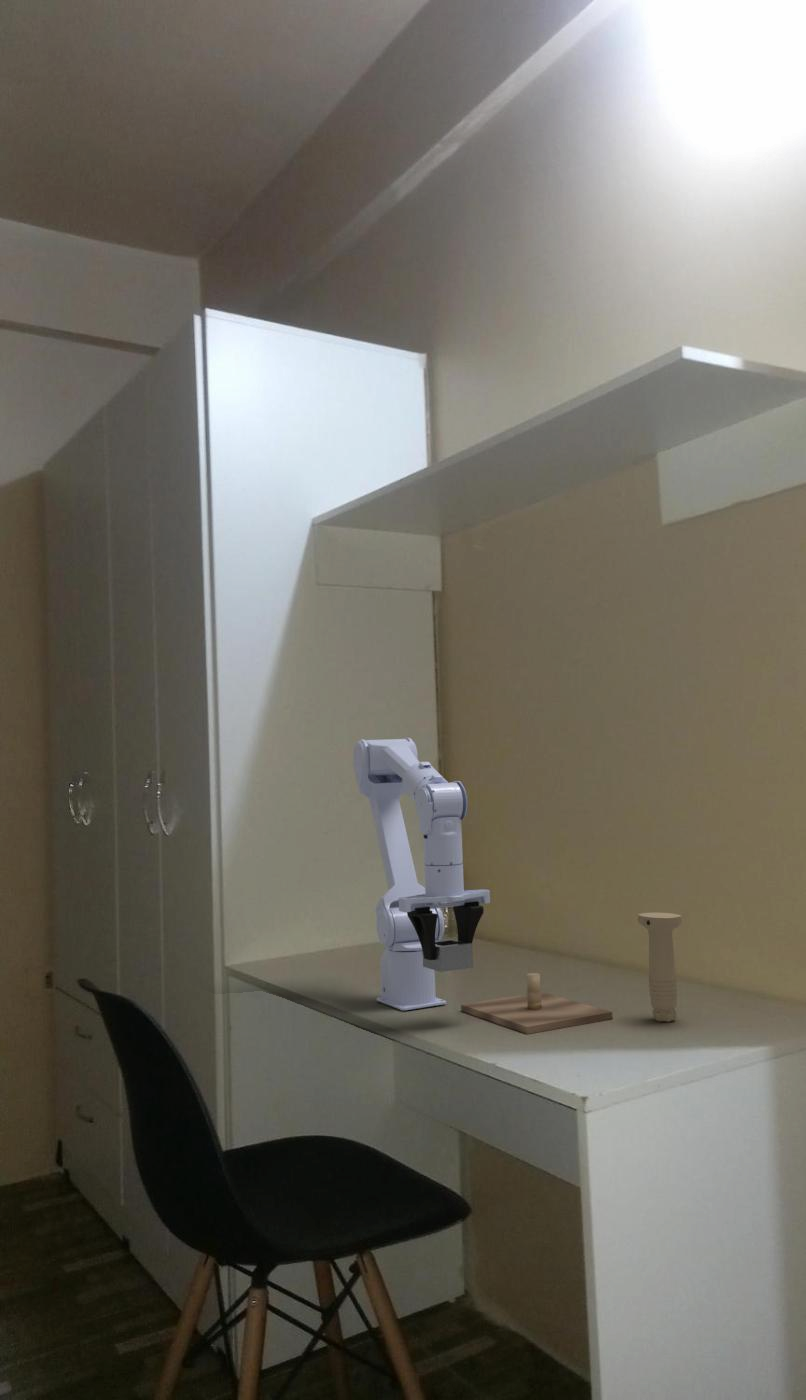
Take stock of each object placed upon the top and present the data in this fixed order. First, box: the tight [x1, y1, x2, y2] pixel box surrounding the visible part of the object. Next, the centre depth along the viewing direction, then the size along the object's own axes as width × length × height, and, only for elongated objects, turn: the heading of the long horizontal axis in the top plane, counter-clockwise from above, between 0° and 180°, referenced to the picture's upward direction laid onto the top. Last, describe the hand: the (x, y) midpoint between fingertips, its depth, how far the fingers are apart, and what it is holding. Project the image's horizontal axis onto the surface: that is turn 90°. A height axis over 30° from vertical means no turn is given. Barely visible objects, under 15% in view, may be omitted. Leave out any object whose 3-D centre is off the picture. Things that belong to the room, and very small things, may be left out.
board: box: [460, 972, 613, 1035], centre depth 168 cm, size 18×15×6 cm
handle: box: [637, 911, 683, 1023], centre depth 162 cm, size 5×6×15 cm
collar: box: [422, 938, 474, 973], centre depth 164 cm, size 5×5×4 cm
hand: (447, 956), depth 165 cm, fingers closed on collar, 5 cm apart
